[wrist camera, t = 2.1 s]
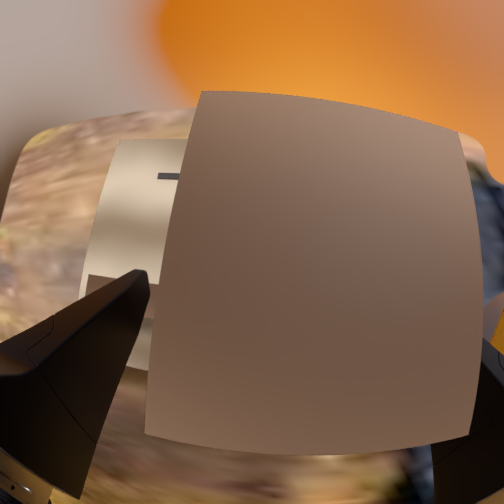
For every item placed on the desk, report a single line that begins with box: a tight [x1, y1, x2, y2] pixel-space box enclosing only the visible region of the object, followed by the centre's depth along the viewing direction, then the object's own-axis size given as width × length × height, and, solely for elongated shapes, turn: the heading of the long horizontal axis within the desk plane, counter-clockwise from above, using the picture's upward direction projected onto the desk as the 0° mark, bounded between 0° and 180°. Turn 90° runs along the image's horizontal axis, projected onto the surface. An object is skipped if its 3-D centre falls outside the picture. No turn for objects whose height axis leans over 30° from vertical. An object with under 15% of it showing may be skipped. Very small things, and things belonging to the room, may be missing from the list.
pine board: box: [78, 139, 188, 371], centre depth 19 cm, size 15×10×3 cm, turn 174°
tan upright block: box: [85, 91, 483, 455], centre depth 11 cm, size 4×12×16 cm, turn 84°
